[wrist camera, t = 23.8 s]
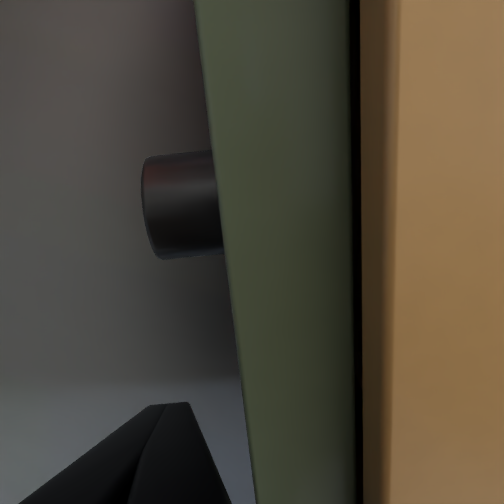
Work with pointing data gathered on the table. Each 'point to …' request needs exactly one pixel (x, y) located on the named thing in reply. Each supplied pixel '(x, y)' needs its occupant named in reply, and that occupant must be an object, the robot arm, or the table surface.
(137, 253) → the table surface
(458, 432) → the cabinet
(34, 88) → the table surface
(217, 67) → the drawer
